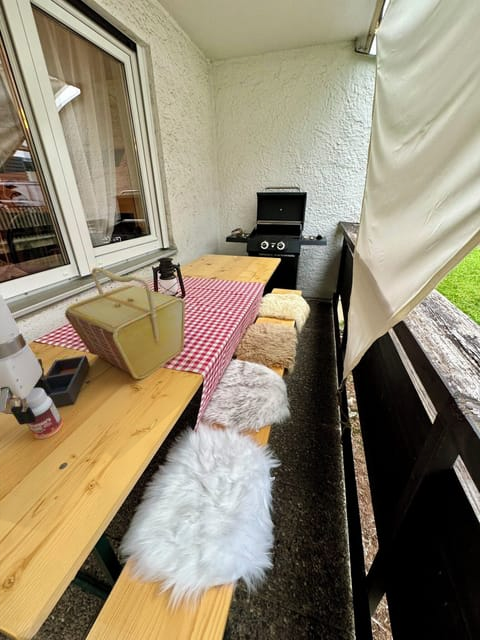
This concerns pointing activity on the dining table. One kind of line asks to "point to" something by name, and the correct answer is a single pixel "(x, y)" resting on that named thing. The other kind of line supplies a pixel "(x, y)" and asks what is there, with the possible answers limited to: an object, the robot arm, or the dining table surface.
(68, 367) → the holder
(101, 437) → the dining table surface
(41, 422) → the pill bottle
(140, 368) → the picnic basket
